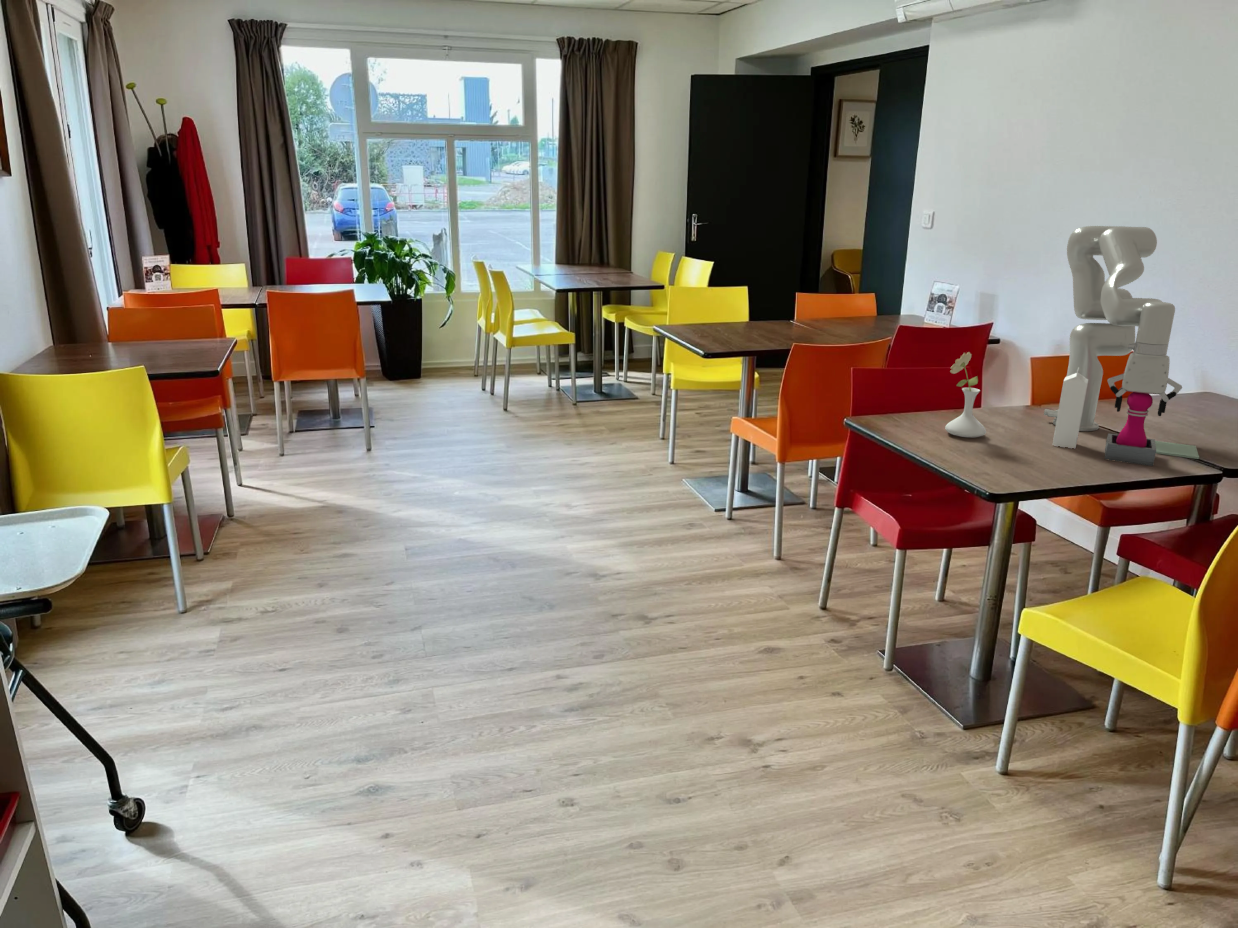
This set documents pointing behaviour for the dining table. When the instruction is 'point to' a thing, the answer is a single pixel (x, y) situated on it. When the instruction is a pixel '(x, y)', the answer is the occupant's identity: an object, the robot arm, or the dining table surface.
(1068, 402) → the milk
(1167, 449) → the mat
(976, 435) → the flower in vase
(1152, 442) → the grey open storage bin
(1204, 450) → the dining table surface
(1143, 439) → the pepper mill
